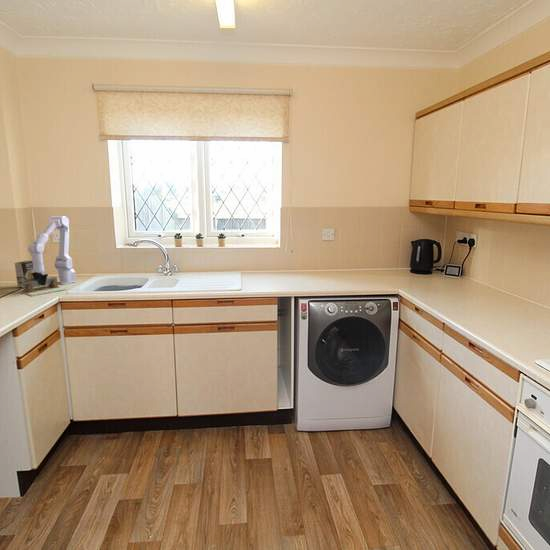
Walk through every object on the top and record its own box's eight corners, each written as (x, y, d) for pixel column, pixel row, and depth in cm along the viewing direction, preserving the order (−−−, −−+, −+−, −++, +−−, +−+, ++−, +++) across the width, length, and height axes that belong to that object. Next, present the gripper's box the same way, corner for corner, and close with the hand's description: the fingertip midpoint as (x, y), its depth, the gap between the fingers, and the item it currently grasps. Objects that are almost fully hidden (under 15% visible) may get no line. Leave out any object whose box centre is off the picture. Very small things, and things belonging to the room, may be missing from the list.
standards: (54, 286, 257) (53, 278, 256) (59, 287, 251) (58, 280, 250) (22, 291, 243) (21, 283, 242) (28, 293, 238) (26, 285, 237)
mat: (61, 287, 252) (61, 286, 251) (67, 289, 246) (67, 288, 246) (26, 294, 237) (26, 293, 236) (31, 296, 231) (31, 295, 231)
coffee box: (26, 288, 251) (22, 263, 248) (17, 287, 253) (13, 262, 249) (37, 285, 260) (34, 260, 257) (28, 284, 261) (25, 260, 258)
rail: (55, 282, 254) (54, 276, 254) (57, 282, 252) (56, 277, 251) (23, 287, 241) (22, 281, 240) (25, 288, 239) (25, 282, 238)
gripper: (26, 262, 245) (29, 284, 248) (35, 265, 236) (38, 287, 239) (38, 261, 251) (41, 282, 253) (48, 263, 241) (51, 285, 244)
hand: (40, 284), depth 246 cm, fingers open, 7 cm apart
